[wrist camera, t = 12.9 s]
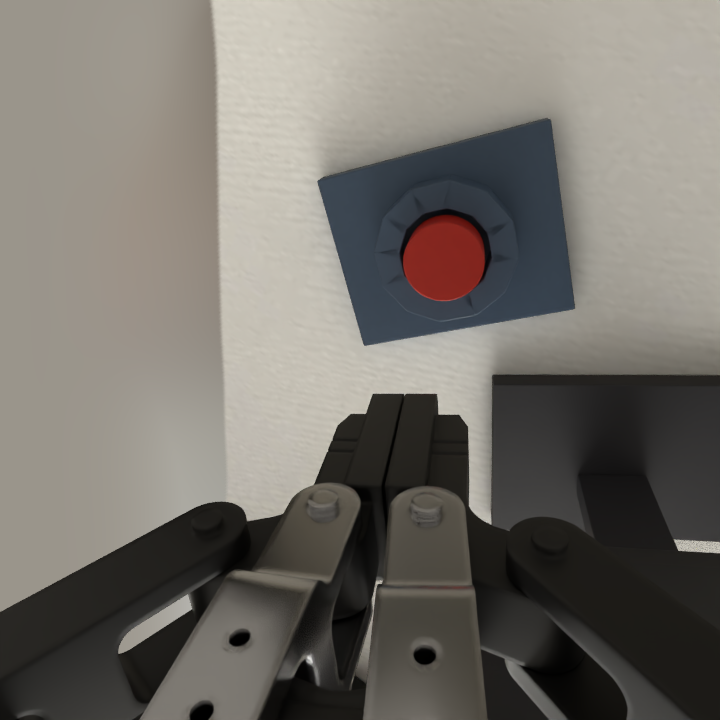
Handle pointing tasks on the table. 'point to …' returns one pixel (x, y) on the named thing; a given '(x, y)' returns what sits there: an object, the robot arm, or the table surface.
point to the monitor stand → (609, 455)
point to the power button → (444, 258)
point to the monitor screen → (664, 567)
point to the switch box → (463, 199)
